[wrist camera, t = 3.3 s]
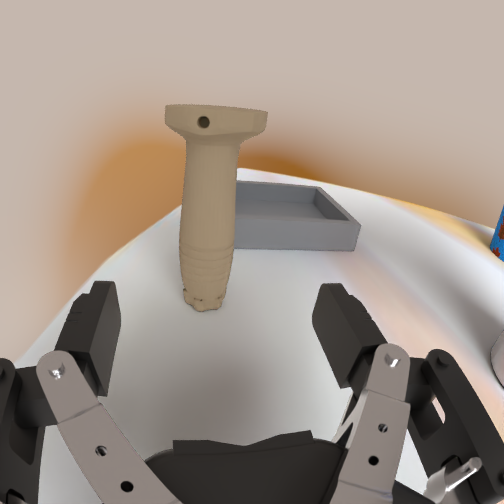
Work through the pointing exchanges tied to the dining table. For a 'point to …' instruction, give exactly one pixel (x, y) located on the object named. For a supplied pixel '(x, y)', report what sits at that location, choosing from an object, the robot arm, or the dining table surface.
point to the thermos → (499, 238)
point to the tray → (291, 218)
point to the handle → (210, 194)
